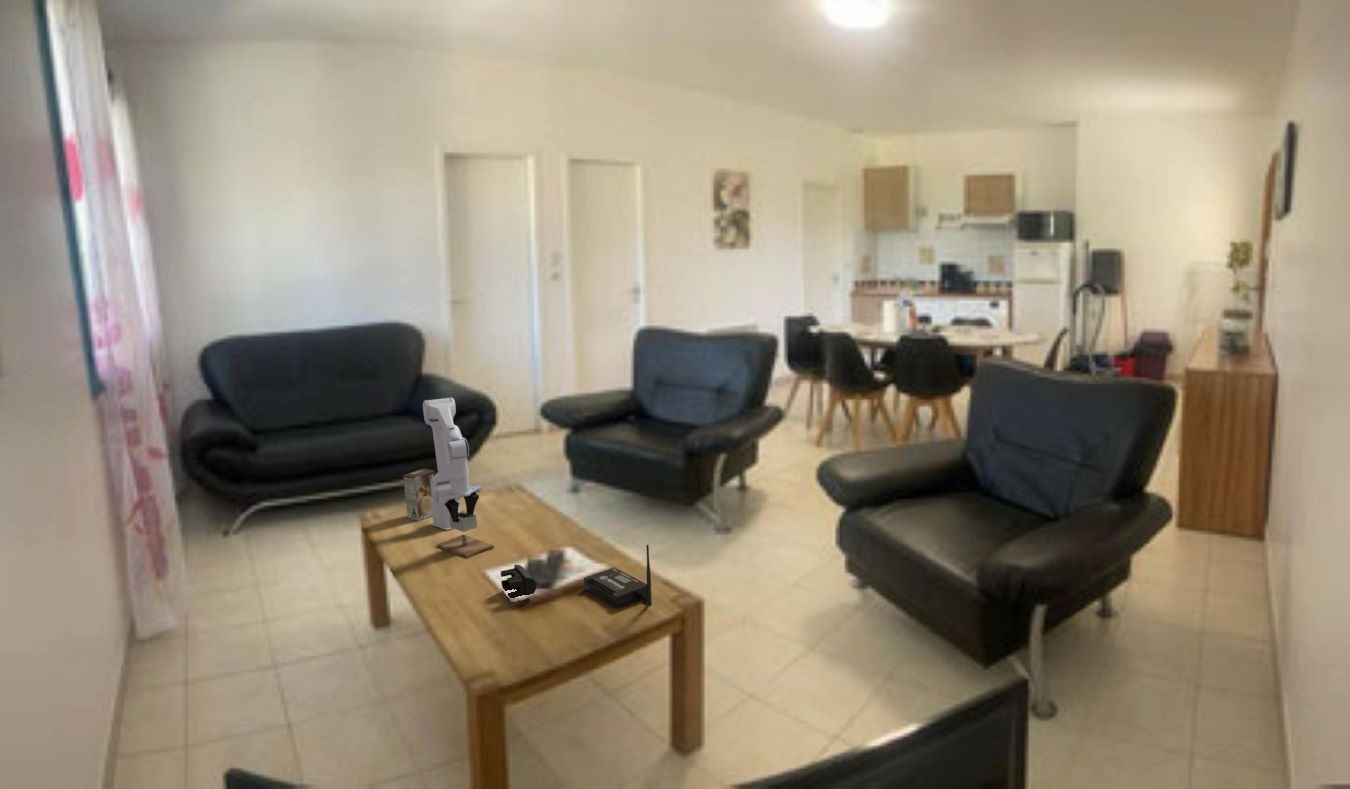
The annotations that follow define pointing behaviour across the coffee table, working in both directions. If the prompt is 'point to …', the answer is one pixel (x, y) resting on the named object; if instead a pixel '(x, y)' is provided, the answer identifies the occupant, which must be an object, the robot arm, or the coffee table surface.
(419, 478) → the coffee box
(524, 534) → the coffee table surface
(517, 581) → the end cap
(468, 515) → the steel link
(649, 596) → the wireless controller
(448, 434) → the robot arm
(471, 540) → the keeper board
